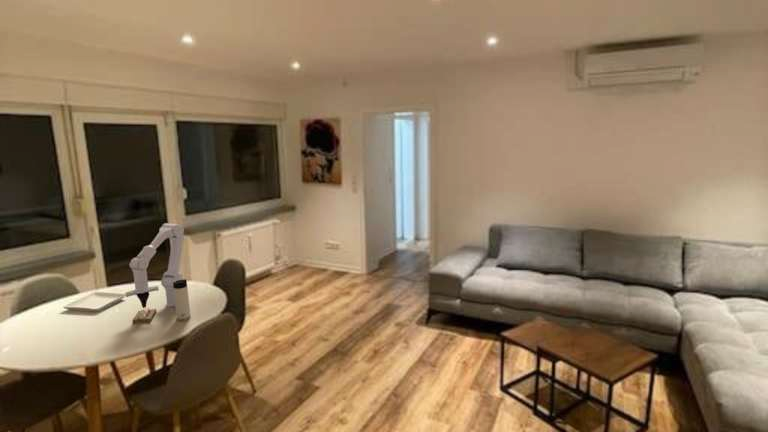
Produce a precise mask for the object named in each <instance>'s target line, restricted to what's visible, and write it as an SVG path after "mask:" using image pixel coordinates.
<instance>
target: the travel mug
mask: <svg viewBox="0 0 768 432" xmlns="http://www.w3.org/2000/svg"><path fill="white" fill-rule="evenodd" d="M173 289H174V298H175V306H174V307H175V314H176V320H177V321H180V322H181V321H186V320H189V319H190V318H191V311H190V310H191V308H190V299H189V291H188V290H189V289H188V281H187V279H185V278H184V279H183V278H182V280H178V281H176V282H173Z"/></svg>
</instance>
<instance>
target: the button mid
mask: <svg viewBox="0 0 768 432" xmlns="http://www.w3.org/2000/svg"><path fill="white" fill-rule="evenodd" d="M143 309H144V308H143ZM143 309H141V310H140V311H141V314H146V318H147V316H148V311H147V309H144V310H143Z"/></svg>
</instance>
